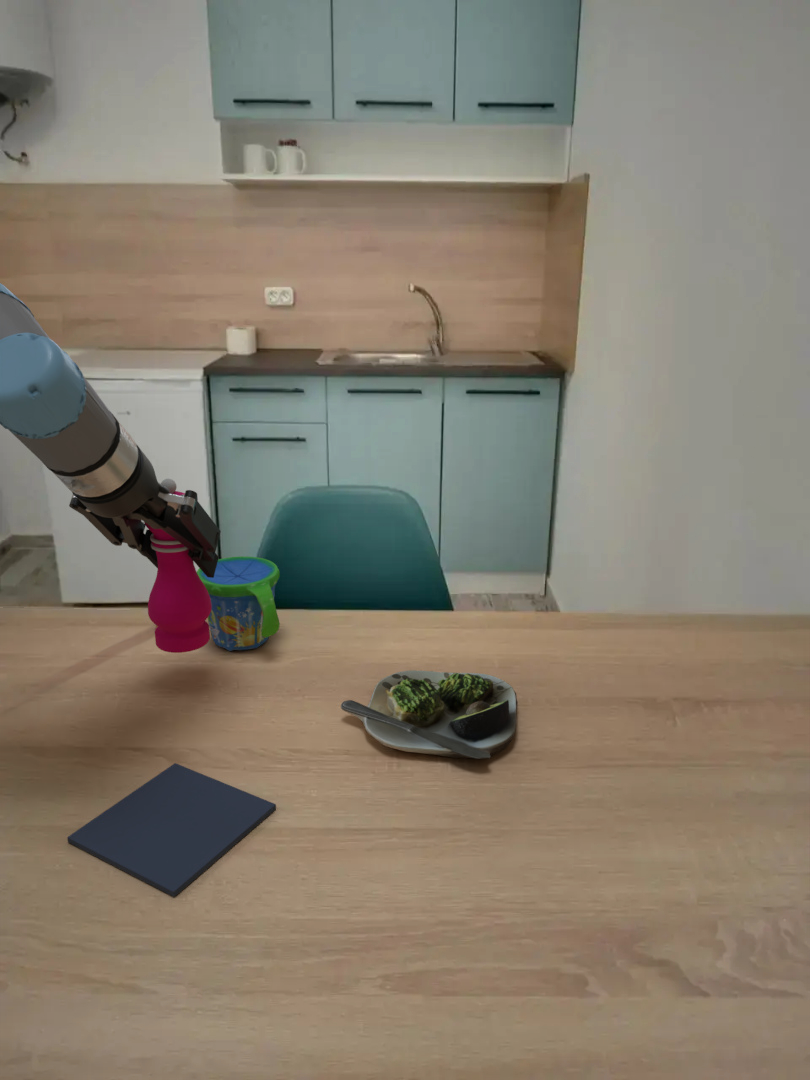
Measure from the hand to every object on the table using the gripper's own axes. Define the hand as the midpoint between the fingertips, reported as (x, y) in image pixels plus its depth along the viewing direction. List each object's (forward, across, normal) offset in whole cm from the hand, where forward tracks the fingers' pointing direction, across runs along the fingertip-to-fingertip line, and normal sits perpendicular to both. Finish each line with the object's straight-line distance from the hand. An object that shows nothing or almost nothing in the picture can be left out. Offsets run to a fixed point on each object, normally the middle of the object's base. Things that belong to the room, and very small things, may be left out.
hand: (190, 565), depth 99 cm
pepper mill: (+3, 0, -9) cm, 9 cm away
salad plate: (+5, +32, -15) cm, 36 cm away
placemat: (-11, +10, -30) cm, 33 cm away
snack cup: (+16, +2, -4) cm, 16 cm away
